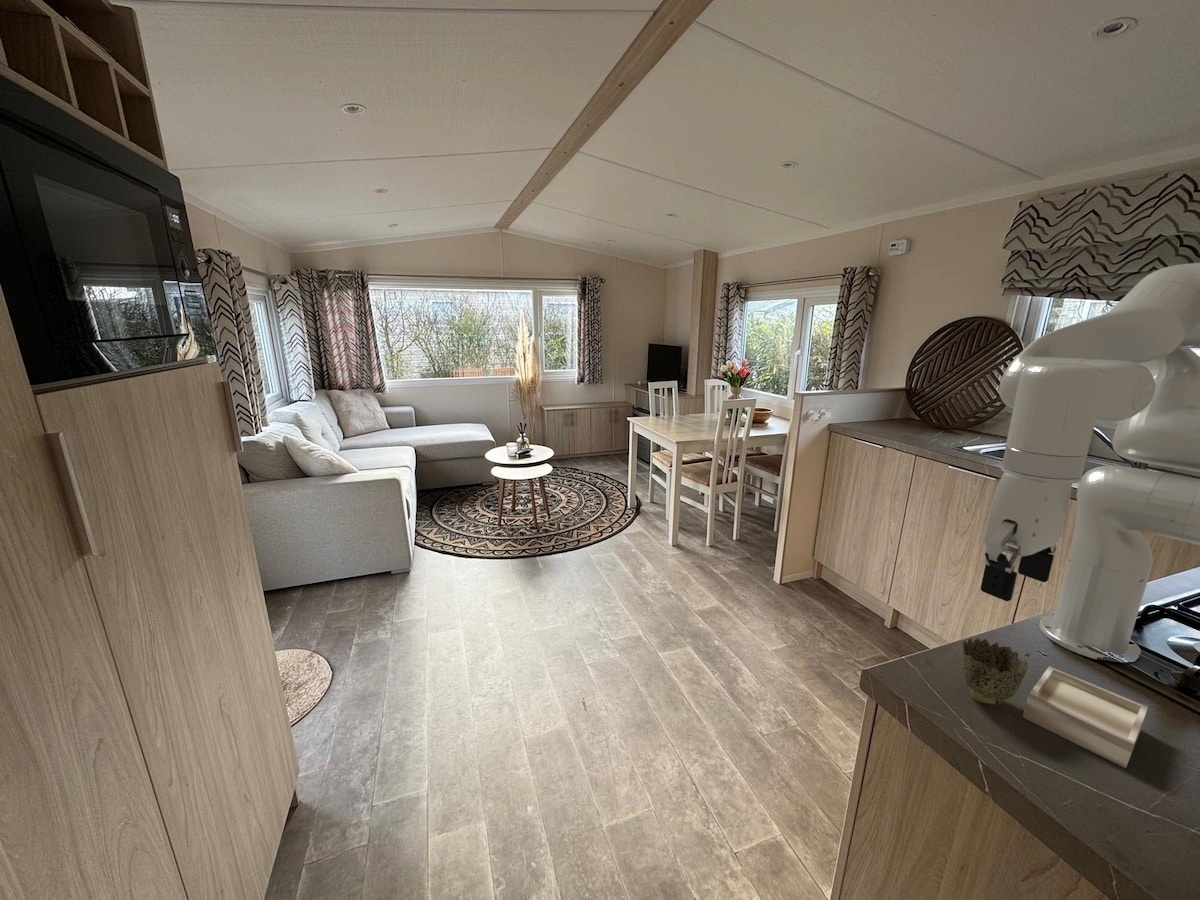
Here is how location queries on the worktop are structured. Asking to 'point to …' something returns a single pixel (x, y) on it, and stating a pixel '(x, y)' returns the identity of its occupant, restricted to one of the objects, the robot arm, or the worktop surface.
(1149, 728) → the worktop surface
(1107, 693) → the birch tray
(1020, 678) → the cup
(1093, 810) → the worktop surface
